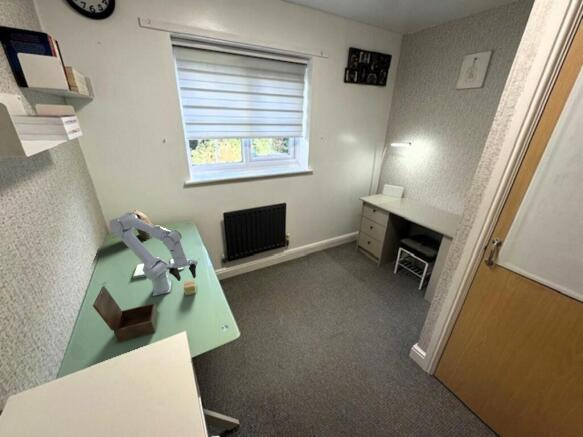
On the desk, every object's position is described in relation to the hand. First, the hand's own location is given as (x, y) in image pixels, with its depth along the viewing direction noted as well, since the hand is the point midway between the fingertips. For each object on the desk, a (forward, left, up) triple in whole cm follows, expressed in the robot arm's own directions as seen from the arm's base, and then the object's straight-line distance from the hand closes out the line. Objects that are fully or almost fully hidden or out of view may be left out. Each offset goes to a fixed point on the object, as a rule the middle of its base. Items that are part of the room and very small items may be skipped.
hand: (187, 278), depth 118 cm
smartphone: (-31, -8, -10) cm, 33 cm away
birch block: (-2, 0, -10) cm, 10 cm away
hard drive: (-31, -26, -10) cm, 42 cm away
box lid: (+14, -28, +4) cm, 32 cm away
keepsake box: (+14, -21, -10) cm, 27 cm away
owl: (-80, -30, -10) cm, 86 cm away
